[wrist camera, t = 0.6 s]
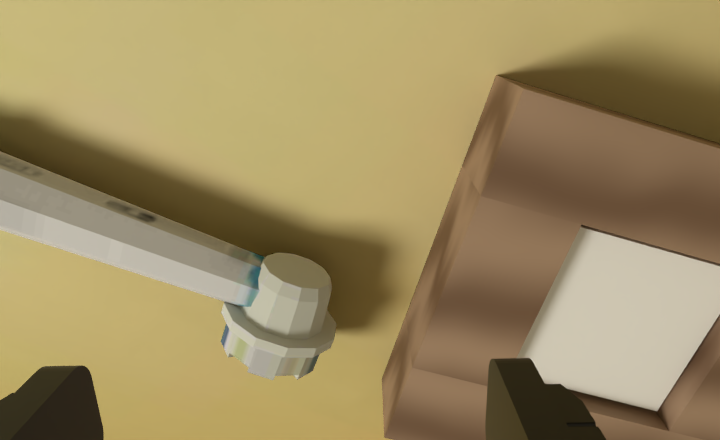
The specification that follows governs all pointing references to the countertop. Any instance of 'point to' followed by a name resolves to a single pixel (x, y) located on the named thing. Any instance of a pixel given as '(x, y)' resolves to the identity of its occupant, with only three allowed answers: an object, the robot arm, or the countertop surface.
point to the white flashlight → (181, 265)
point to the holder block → (549, 258)
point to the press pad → (623, 318)
